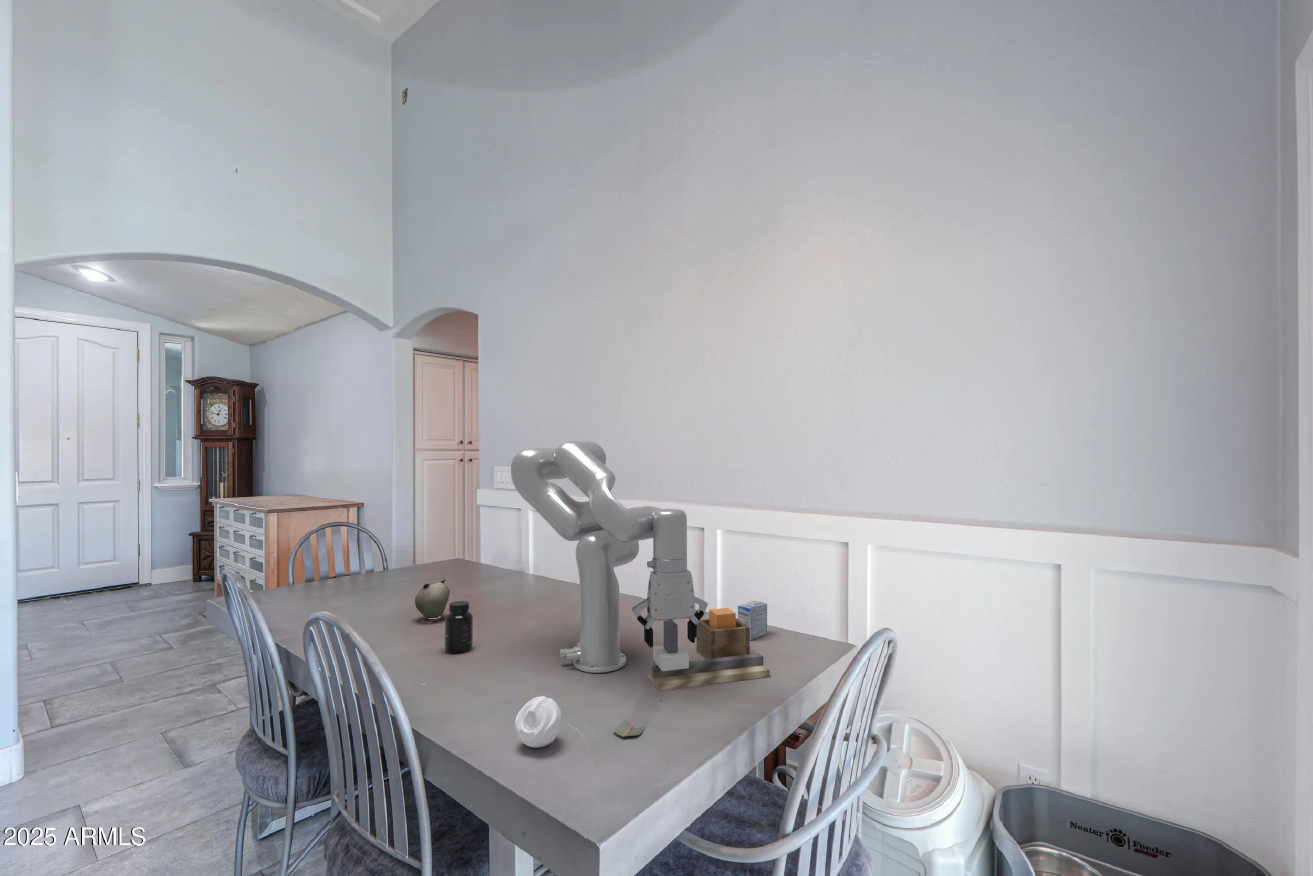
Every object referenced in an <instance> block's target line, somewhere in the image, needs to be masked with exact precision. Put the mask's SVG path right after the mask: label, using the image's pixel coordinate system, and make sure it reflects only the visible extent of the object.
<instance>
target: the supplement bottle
mask: <svg viewBox="0 0 1313 876" xmlns="http://www.w3.org/2000/svg"><path fill="white" fill-rule="evenodd" d="M448 606H449V607H448V608H449V609H448V612H449V613H448V614H447V615H446V616H445V617H444V618H445V619H444V651H445V652H446V653H447V654H450V655H459V654H464V653H467V652H470V651H471V650H473V645H474V643H473V641H474V640H473V638H474V634H473V633H474V631H473V630H474V628H473V627H474V625H473V624H474V616H473V614H472V613H471V612H470V603H469V601H467V600H457V601H456V600H455V601H451V602H450V603H449V605H448Z"/></svg>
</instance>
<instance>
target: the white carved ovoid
mask: <svg viewBox="0 0 1313 876" xmlns="http://www.w3.org/2000/svg"><path fill="white" fill-rule="evenodd" d="M561 726H562V710H561V708H560V707H559V705H558V703H557V702H556V701H555V700H554V699H552V698H551V697H546V696H544V695H541V696H536V697H534V698H533V697H532V698H531V699H529V701H528V702H526V703H525V704H524V706H522V707H521V709H520V710H519V711H518V713H517V715H516V718H515V721H514V727H515V733H516V735H517V738H518V740H520V742H521V743H522V744H524V745H525V746H527V747H529V748H534V749H535V748H537V749H539V748H543V747H546V746H548V745H550V744H551V743H552V742H554V741H555V740H556V738H557V736H558V734H559V733H560V730H561Z"/></svg>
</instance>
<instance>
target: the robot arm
mask: <svg viewBox="0 0 1313 876" xmlns="http://www.w3.org/2000/svg"><path fill="white" fill-rule="evenodd" d="M606 463H607V455H606V451H605V450H604V448H603V447H602V446H601V445H600V444H598V443H596V442H595V441H587V440H586V441H585V440H583V441H579V440H574V441H573V440H571V441H566V442H563V443H562V444H559V446H557V447H531V448H526V449H524V450H521V451H519V452H517V453H516V454H515V456H514V457H513V458H512V461H511V465H510V476H511V480H512V483H513V486H514V488H515V490H516V492H517V493H518V494H519V495H520V496H521V497H522V499H523V500H525V502H526V503H527V504H529V505H530V506H531V507H532V508H533V509H535V511H536V512H537V513H538V514H539V515H540V516H541V517H542V518H543V520H545V522H547V524H548V525H549V526H551V528H552V529H553V530H554V531H555V532H556V533H557V534H558V536H560V537H561V538H562V539H563V540H565V541H568V542H575V541H577V545H576V547H575V560H576V566H577V570H578V579H579V580H578V581H579V642H576V643H577V644H576V645H577V646H573V648H560V650H559V653H560V654H559V657H560V658H566V660H573V661H572V662H573V667H575V668H576V669H577V670H578V671H582V672H585V673H594V674H595V673H596V674H598V673H599V674H600V673H608V672H613V671H617V670H619V669H621V668H623V667H624V666H626V664H627V656H626V655H625V654H624V653H623V652H621V647H620V646H621V635H620V634H621V629H620V628H621V626H620V625H621V622H620V621H621V620H620V618H621V614H620V611H621V607H620V606H621V602H620V601H621V599H620V592H621V591H620V584H619V580H618V578H617V574H616V572H615V568H617V567H620V566H624V565H627V564H629V563H631V562H633V561H634V560H635V559H636V558H637V556H639V555H638V554H639V552H640V544H639V541H644V540H649V539H652V541H653V542H652V547H653V548H652V549H653V550H652V554H653V555H652V556H653V557H652V558H651V560H650V561H649V560H648V561H647V562H646V567H647V568H648V569H649V568H650V569H652V570H651V571H650V573H649V579H648V584H647V585H648V586H647V596H646V599H644V600H641V602H639V603H638V604H636V605H634V606H633V607H632V608H631V611H632V613H633V614H634V617H635V618H636V620H637V621H638V623H640V624H641V625H642V627H643V637H644V638H643V640H644V643H646V645H647V646H648V647H649V648H653V646H654V629H653V628H652V626H653V625H654V623H655V622H656V621H665V620H673V621H674V620H682V619H684V620H685V619H688V621H687V624H686V625H687V628H686V629H687V639H688V641H689V642H690V643H692V644H695V643H696V639H697V624H698V623H699V620H700V619H703V617H704V615H705V612H706V611H707V608H708V606H709V603H708V602H707V601H705V600H704V599H701V598H699V597H698V596H695V589H694V587H695V586H694V581H693V577H692V576H693V575H692V572H691V570H688V523H687V522H688V518H687V514H686V512H685V511H684V510H682V509H678V508H660V507H656V506H651V505H650V506H649V505H646V506H636V507H629V508H627V507H626V506H624V505H623V504H622V503H621V502H619V500H617V499H616V497H614V495H613V494H612V489H613V487H614V485H615V483H616V475H615V473H614V472H613V471H612V470H611V468H609V467H607V466H606ZM562 479H568V480H569V481H570V482H571V483H572V484H573V485H574V486H575V487H576V488H577V489H578V490H579V491H581V493H583V495H585V496H586V498H588V501H587V500H586V501H579V500H576V499H574V498H573V497H571V495H569V494H568V493H567V492H566V490H564V489H563V488H562V487H560V486H559V485H557V484H556V483H554V482H552V481H551V480H562ZM696 605H699V607H698V609H696ZM644 609H646V612H647V614H646V616H645V617H643V616H642V613H641V612H642V611H643V610H644Z"/></svg>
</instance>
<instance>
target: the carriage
mask: <svg viewBox="0 0 1313 876" xmlns="http://www.w3.org/2000/svg"><path fill="white" fill-rule="evenodd" d="M678 629H679V624H677V622H675V621H674V619H673V620H663V645H656V646H655V645H653V647H652V648H653V649H652V653H653V656H652V657H653V658H652V660H653V662H655V665H658V666H659V668H660V669H661V670H662V671H669V670H678V669H686V668H689V661H690V657H689V656H690V654H689V653H688V652H687V650H685V649H684V648H683V647H682V646H681V644H680V643H679V642H678V639H679V630H678Z"/></svg>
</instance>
